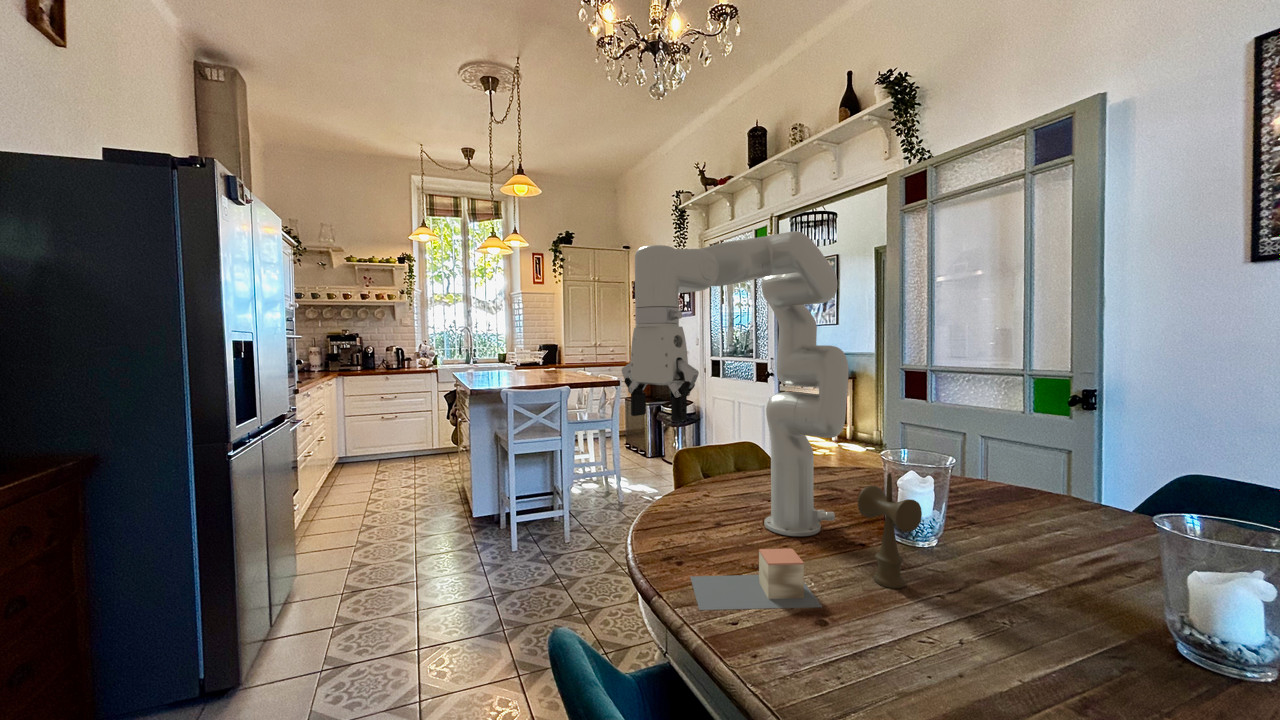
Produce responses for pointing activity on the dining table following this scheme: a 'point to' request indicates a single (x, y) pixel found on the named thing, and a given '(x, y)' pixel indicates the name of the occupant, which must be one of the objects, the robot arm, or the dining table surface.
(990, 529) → the dining table surface
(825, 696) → the dining table surface
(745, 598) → the slate mat
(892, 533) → the kendama
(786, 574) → the birch cube
